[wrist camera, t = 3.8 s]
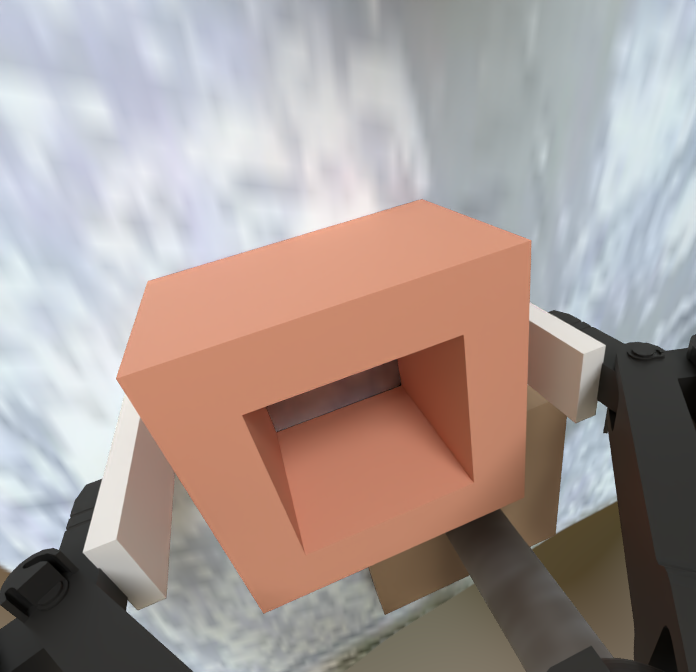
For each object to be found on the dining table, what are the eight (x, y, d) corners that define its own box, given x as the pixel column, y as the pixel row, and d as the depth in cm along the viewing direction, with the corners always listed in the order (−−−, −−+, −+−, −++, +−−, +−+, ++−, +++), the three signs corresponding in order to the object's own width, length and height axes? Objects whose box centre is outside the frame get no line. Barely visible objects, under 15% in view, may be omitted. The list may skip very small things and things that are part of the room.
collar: (421, 199, 15) (531, 240, 10) (444, 403, 20) (524, 497, 15) (147, 281, 14) (116, 378, 9) (246, 479, 19) (263, 613, 14)
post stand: (547, 377, 22) (765, 541, 13) (539, 516, 28) (684, 687, 20) (334, 461, 20) (431, 715, 12) (376, 590, 26) (459, 816, 18)
